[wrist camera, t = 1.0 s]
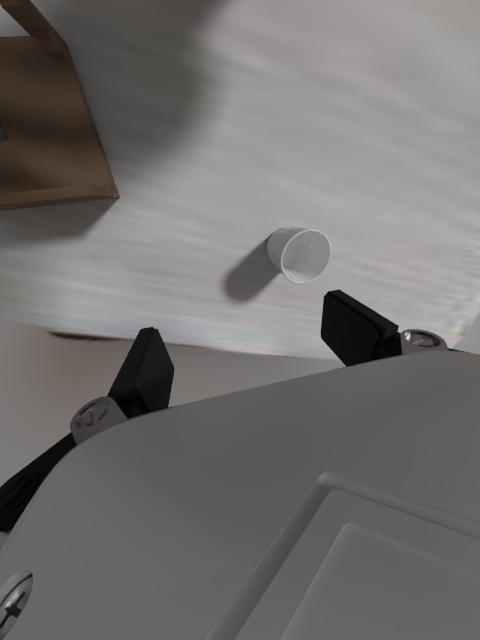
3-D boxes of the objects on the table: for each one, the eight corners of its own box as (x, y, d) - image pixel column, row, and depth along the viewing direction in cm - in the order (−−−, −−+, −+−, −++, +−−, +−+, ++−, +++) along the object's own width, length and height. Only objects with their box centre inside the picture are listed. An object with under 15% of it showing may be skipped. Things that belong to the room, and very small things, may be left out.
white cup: (262, 269, 39) (279, 286, 31) (263, 225, 35) (282, 231, 27) (300, 265, 40) (326, 281, 32) (304, 222, 36) (336, 227, 28)
